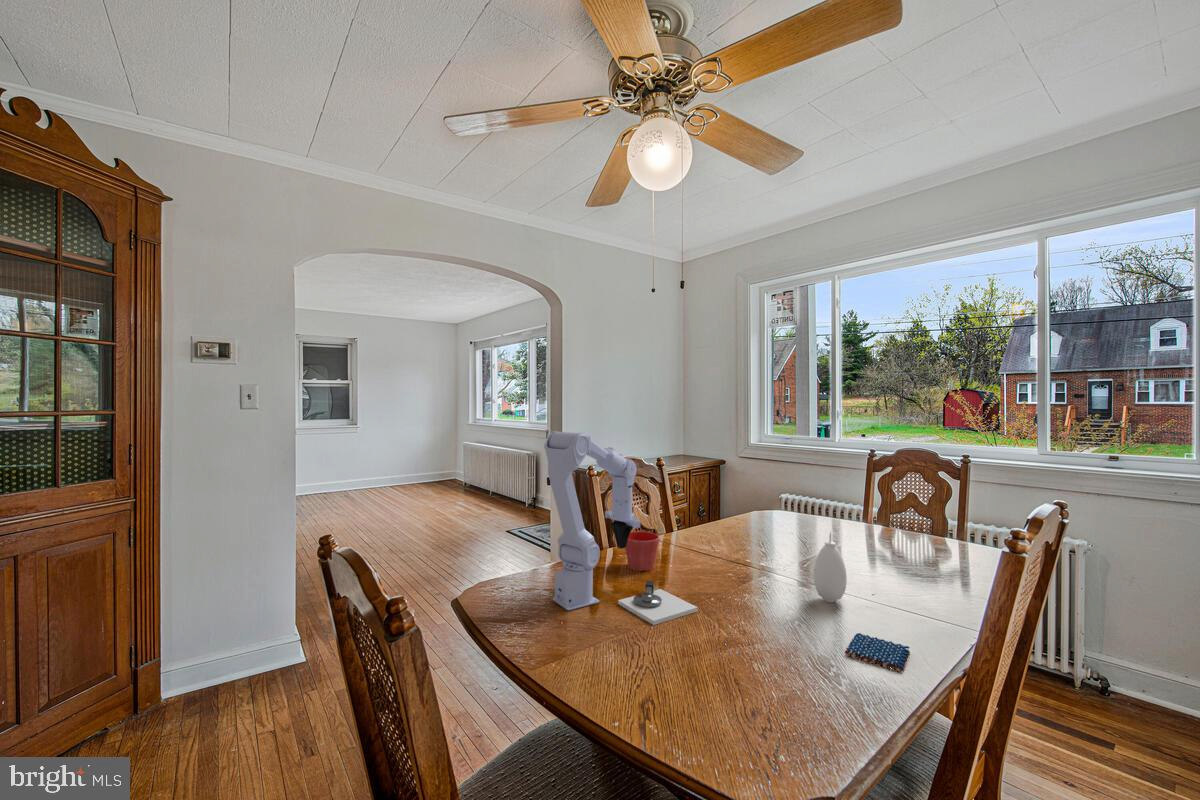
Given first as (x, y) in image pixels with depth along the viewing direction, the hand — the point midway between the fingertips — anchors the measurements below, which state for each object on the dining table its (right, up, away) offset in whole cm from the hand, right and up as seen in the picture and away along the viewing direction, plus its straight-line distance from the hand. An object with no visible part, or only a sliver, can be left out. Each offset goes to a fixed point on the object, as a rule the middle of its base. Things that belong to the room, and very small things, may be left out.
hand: (621, 547), depth 144 cm
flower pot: (+7, -10, +12) cm, 16 cm away
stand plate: (+8, -10, -19) cm, 22 cm away
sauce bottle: (+53, -10, -14) cm, 56 cm away
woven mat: (+51, -11, -40) cm, 66 cm away
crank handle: (+6, -8, -16) cm, 19 cm away
